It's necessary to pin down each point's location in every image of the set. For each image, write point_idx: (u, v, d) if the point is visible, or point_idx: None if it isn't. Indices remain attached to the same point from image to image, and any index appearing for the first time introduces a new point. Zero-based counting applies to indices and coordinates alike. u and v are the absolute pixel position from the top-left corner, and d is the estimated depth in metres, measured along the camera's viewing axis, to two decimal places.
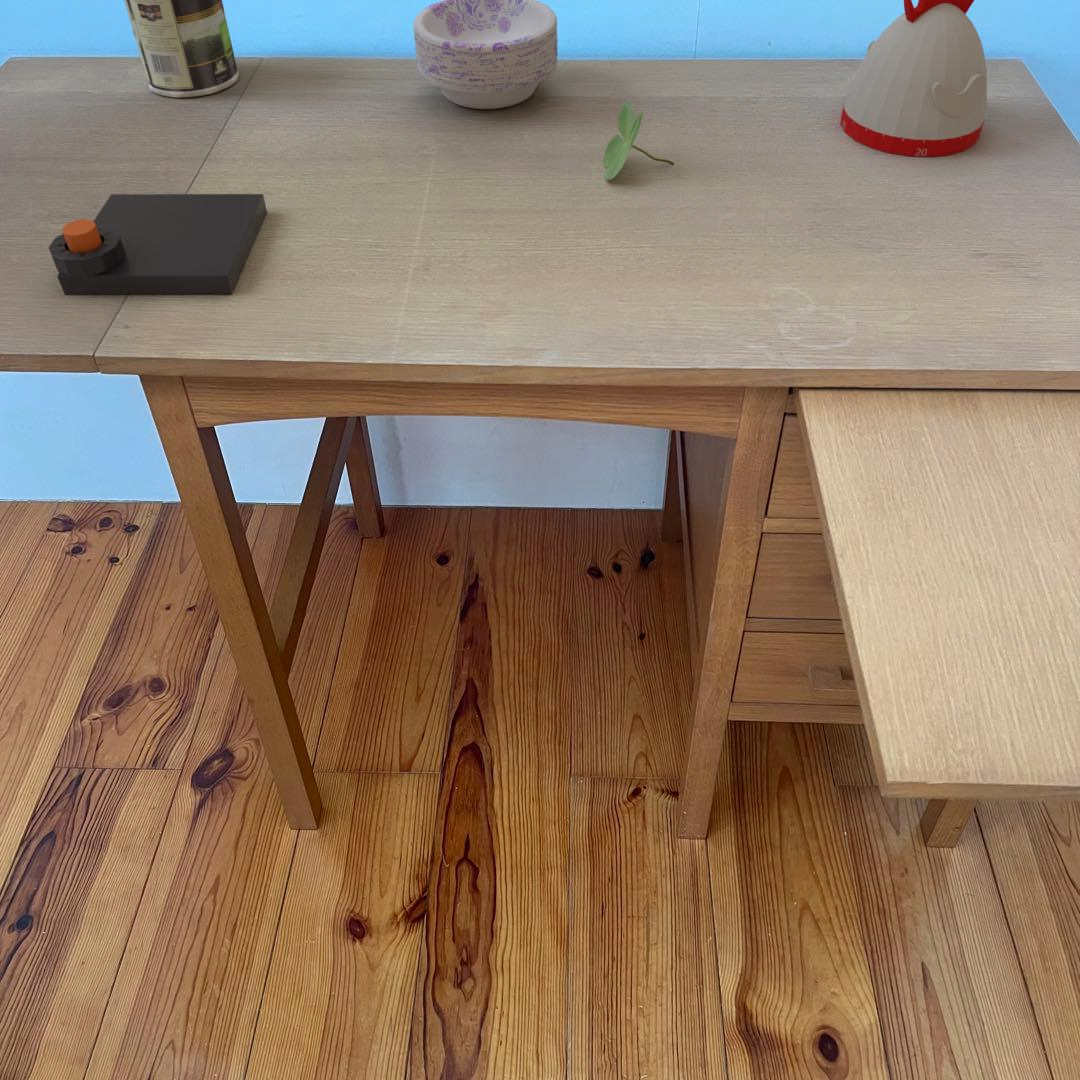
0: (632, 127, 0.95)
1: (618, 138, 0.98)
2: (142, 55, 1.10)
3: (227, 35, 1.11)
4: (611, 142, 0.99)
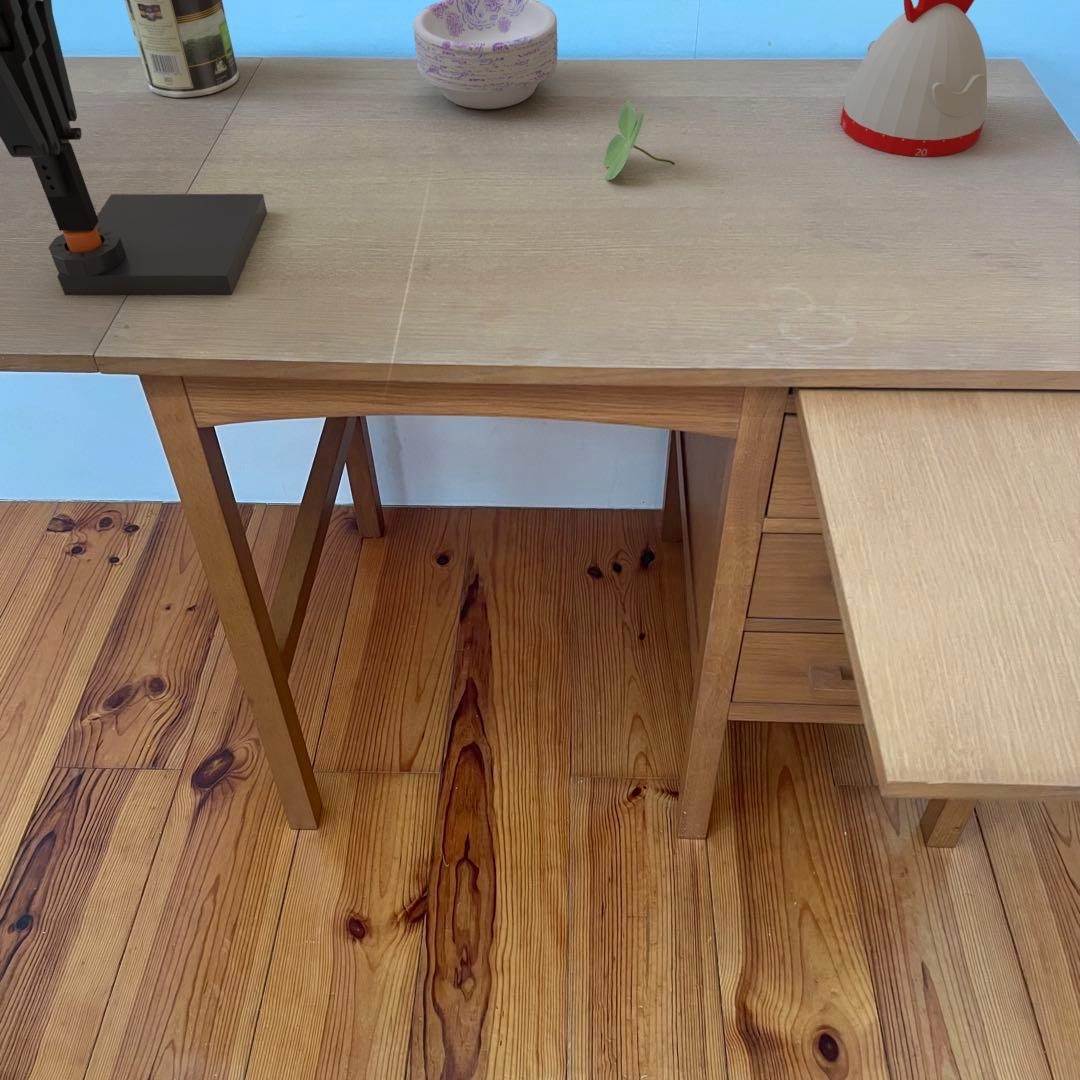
0: (633, 127, 0.95)
1: (619, 138, 0.98)
2: (142, 55, 1.10)
3: (227, 35, 1.11)
4: (612, 142, 0.99)
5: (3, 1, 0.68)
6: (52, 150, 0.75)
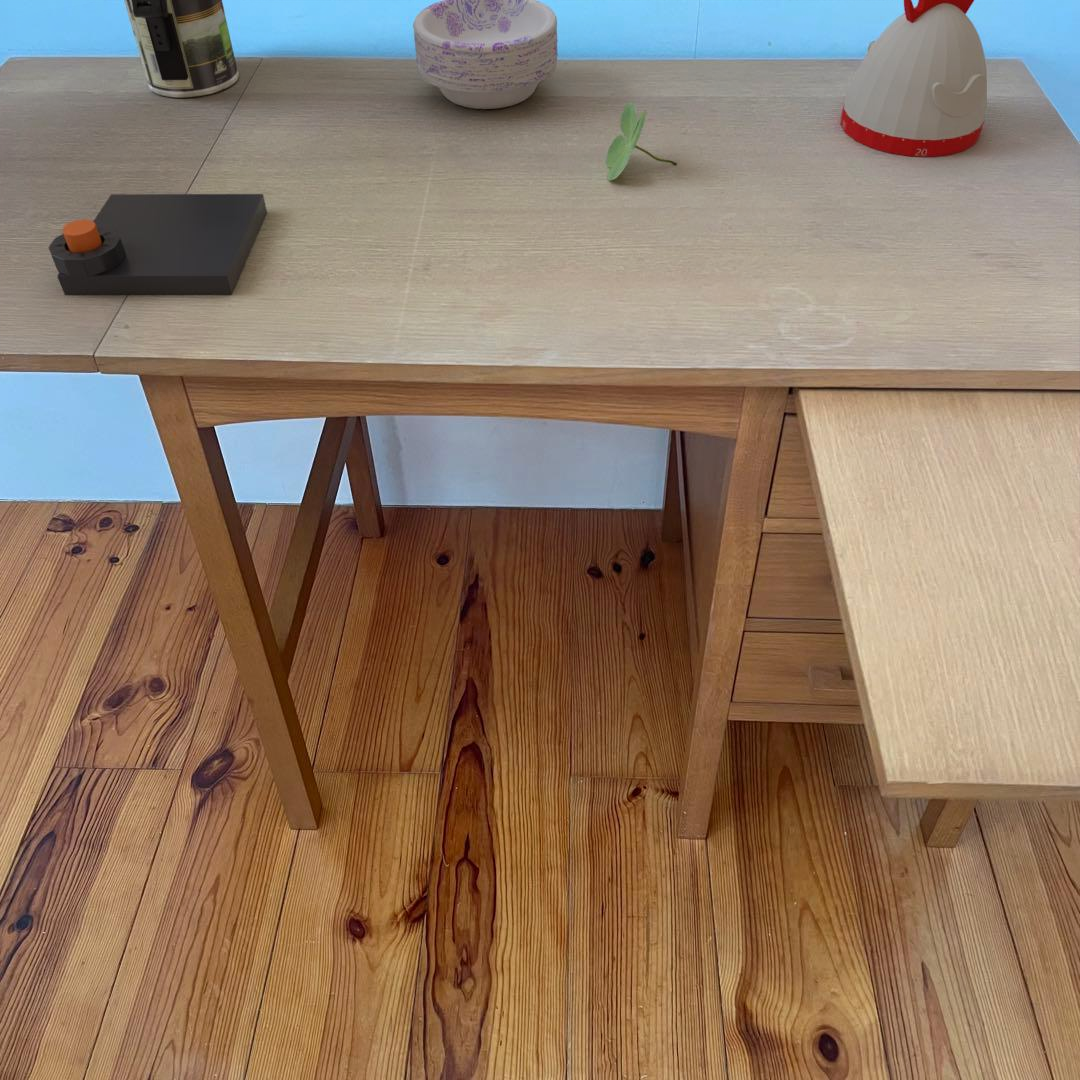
0: (635, 127, 0.95)
1: (620, 139, 0.98)
2: (142, 55, 1.10)
3: (227, 35, 1.11)
4: (614, 142, 0.99)
5: None
6: (162, 9, 1.03)
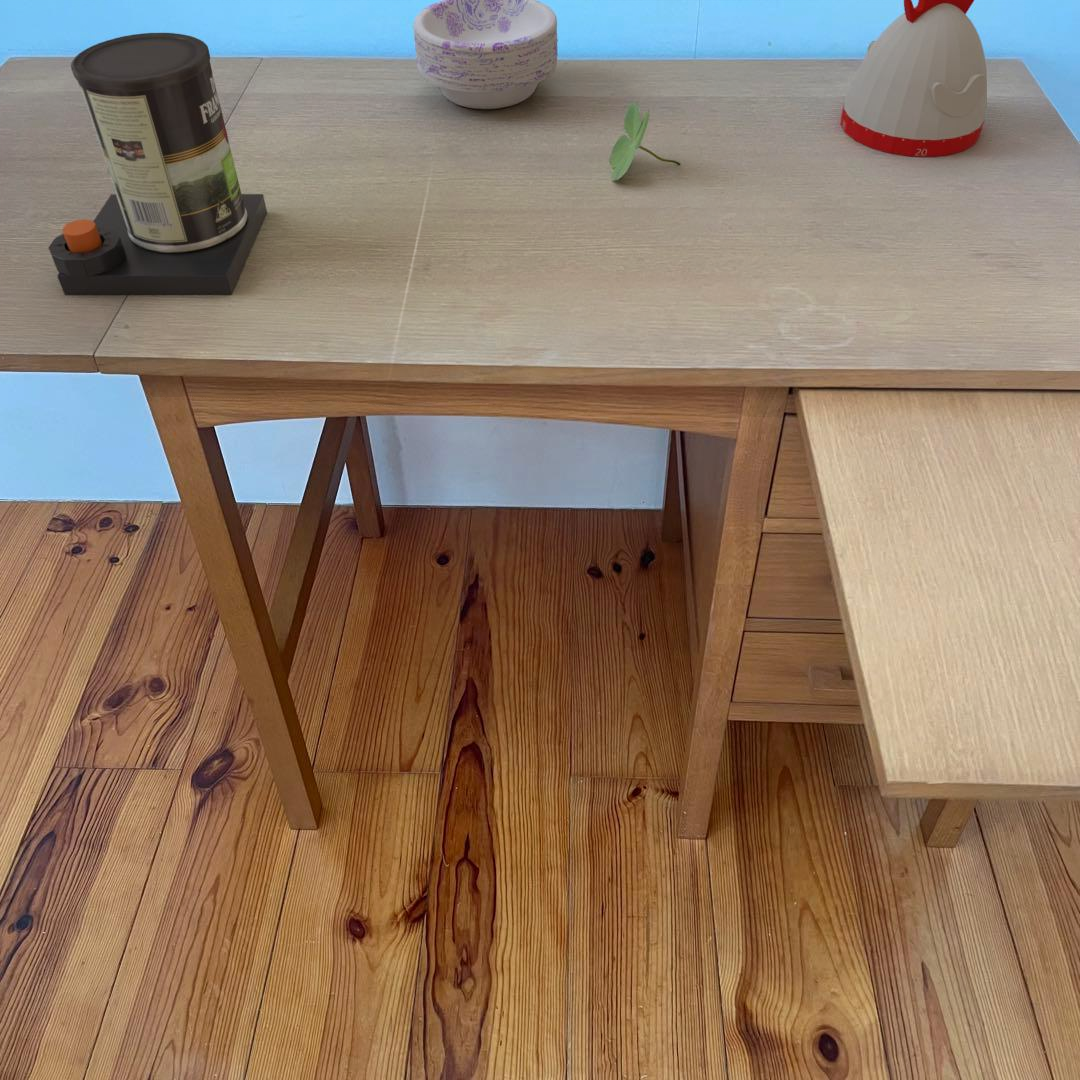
0: (639, 127, 0.95)
1: (624, 139, 0.98)
2: (119, 199, 0.83)
3: (232, 170, 0.84)
4: (618, 142, 0.99)
5: None
6: None
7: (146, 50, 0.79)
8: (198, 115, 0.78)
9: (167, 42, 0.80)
